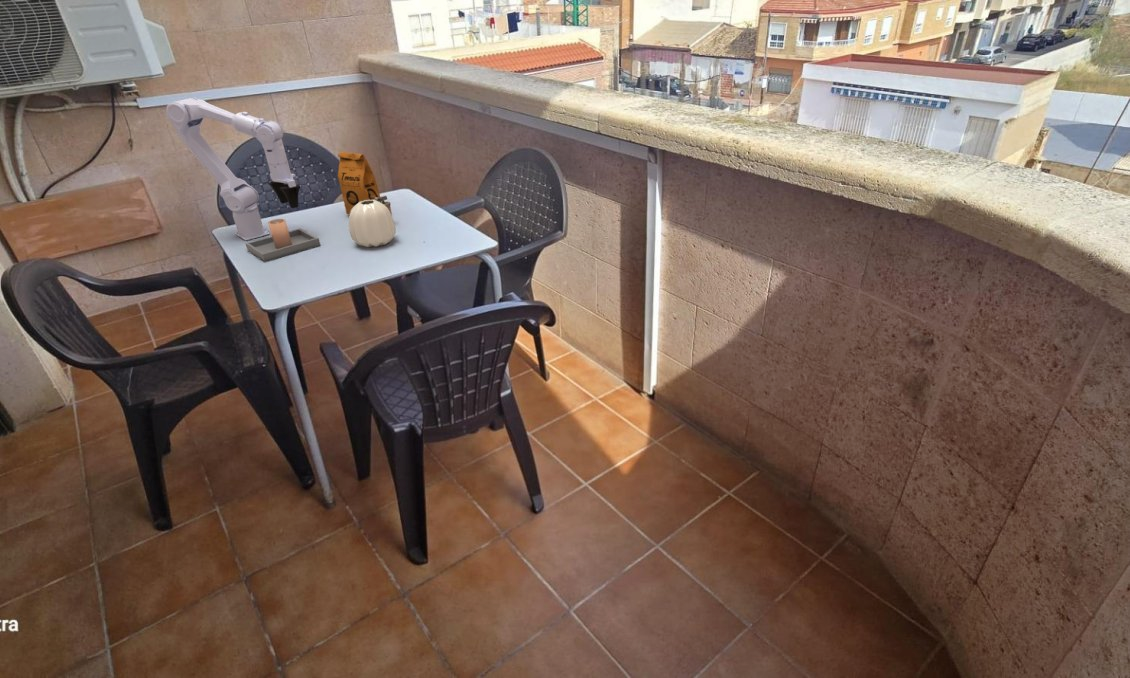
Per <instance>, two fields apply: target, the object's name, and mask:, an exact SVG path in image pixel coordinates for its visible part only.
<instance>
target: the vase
mask: <svg viewBox="0 0 1130 678" xmlns="http://www.w3.org/2000/svg"><path fill="white" fill-rule="evenodd" d="M348 227H349V229H348V231H349V235H350V238H351V240H352V241H354V242H355V243H356V244H358V245H359V246H361V247H366V248H371V247H376V248H377V247H379V246H386V244H387V243H390V242H391V241H392V240H393V238H394V237H395V235H396V232H397V231H396V224H395V220H394V217H393V214H392V215H391V213H390V211H389V209H388V208H387V207H386V206H385V205H384V204H382V203H380V202H378V201H376V200H364V201H361V202H359V203H358V204H356V205H355V206H354V207H353V208H352V209H351V212H350V214H349V216H348Z"/></svg>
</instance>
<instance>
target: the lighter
mask: <svg viewBox="0 0 1130 678" xmlns="http://www.w3.org/2000/svg"><path fill="white" fill-rule="evenodd" d="M374 200H376V201H378V202H380V203H382V204H384V205H385V206H386V207H387V208H388V209H389V211H390V213H391V215H392V216H393V214H392V208H391V201H388V196H387V195H382V196H380V198H377V197H375V199H374ZM386 200H387V201H386Z"/></svg>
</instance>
